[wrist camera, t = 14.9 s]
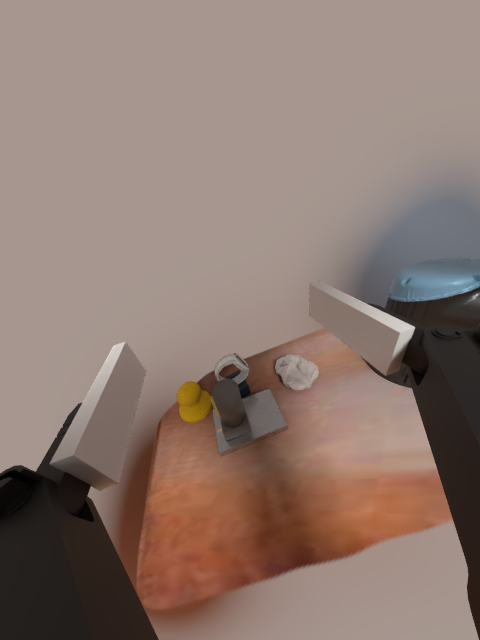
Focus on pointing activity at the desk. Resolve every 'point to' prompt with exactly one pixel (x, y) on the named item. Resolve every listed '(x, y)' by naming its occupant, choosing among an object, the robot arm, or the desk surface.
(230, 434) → the cylinder
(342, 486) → the desk surface
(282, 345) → the desk surface
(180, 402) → the yellow stacked oval discs
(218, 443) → the hub plate
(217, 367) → the watch
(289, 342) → the desk surface
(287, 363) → the fossil
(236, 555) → the desk surface
